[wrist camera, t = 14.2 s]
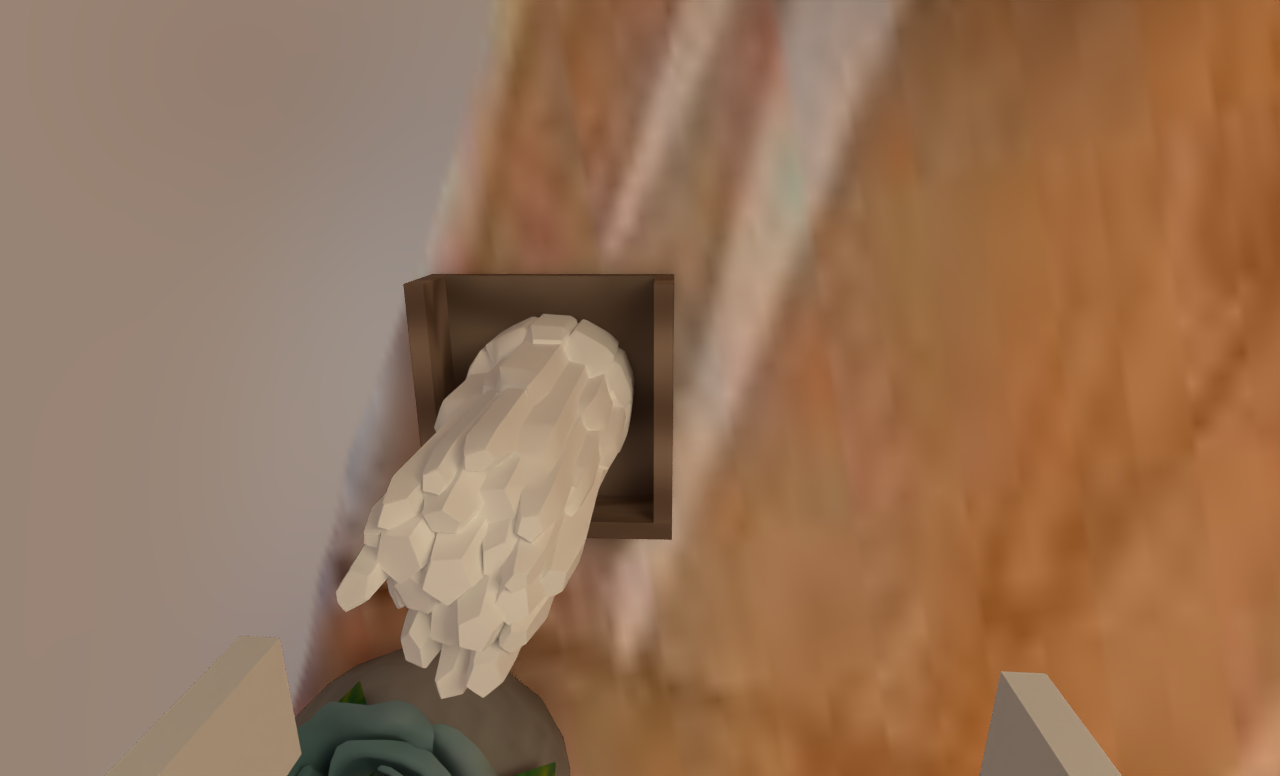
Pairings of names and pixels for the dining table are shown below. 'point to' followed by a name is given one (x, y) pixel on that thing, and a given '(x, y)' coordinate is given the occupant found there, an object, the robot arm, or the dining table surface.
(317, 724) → the flower arrangement
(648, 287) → the brown wooden tray
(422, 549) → the decorative vase
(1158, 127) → the dining table surface
